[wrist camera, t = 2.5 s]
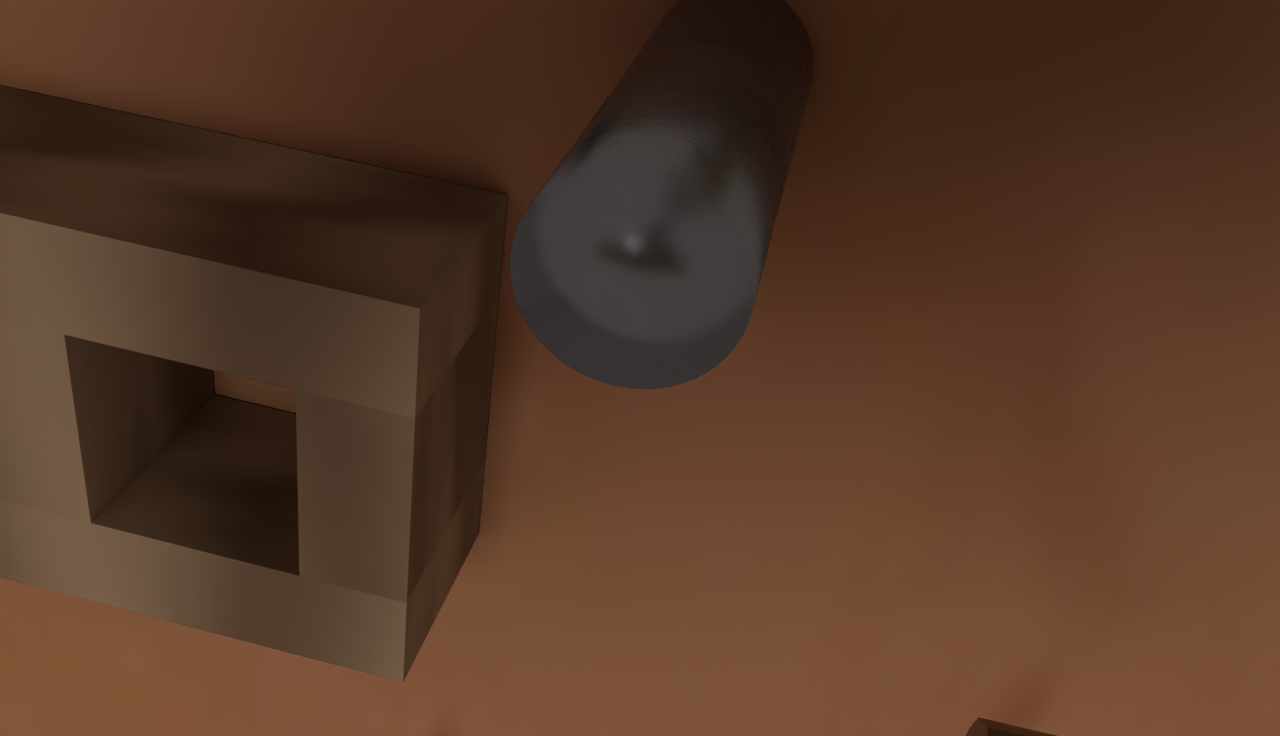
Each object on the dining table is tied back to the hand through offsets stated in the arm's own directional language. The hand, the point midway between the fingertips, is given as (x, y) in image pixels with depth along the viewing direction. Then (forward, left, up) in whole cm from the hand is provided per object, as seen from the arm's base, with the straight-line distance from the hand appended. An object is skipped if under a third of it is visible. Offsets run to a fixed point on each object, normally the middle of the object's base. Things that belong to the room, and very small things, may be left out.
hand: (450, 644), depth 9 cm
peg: (0, 0, -15) cm, 15 cm away
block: (+14, +8, -15) cm, 22 cm away
